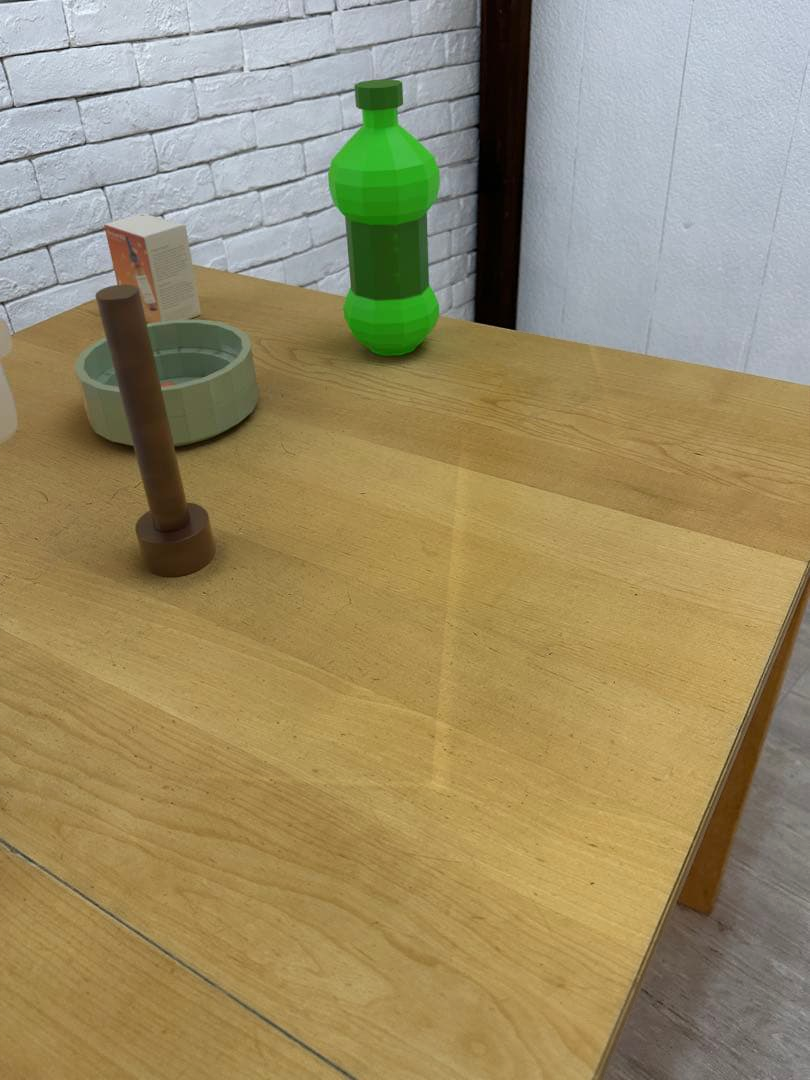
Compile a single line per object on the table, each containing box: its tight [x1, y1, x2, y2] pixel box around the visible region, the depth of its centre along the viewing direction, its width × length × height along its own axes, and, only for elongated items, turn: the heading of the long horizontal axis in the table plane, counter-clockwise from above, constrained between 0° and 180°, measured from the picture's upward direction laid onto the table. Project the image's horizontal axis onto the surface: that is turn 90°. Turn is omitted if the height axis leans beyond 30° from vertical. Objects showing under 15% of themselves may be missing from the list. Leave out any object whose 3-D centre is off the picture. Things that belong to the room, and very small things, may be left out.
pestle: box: [95, 284, 216, 578], centre depth 61 cm, size 5×5×20 cm
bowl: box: [74, 319, 260, 448], centre depth 84 cm, size 16×16×6 cm
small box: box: [103, 212, 202, 324], centre depth 102 cm, size 8×6×10 cm
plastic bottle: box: [327, 78, 441, 357], centre depth 88 cm, size 10×10×25 cm
